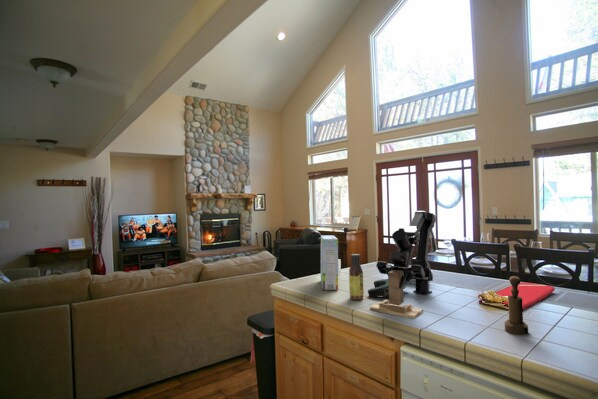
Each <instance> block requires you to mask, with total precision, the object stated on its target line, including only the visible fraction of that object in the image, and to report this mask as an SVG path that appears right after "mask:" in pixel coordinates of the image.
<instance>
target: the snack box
mask: <svg viewBox="0 0 598 399" xmlns="http://www.w3.org/2000/svg"><path fill="white" fill-rule="evenodd" d="M320 283H321V287H322V290H323V291H338V290H339V239H338V238H337V237H336V236H335V235H332V234H331V235H329V234H327V235H323V234H322V235H320Z"/></svg>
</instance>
